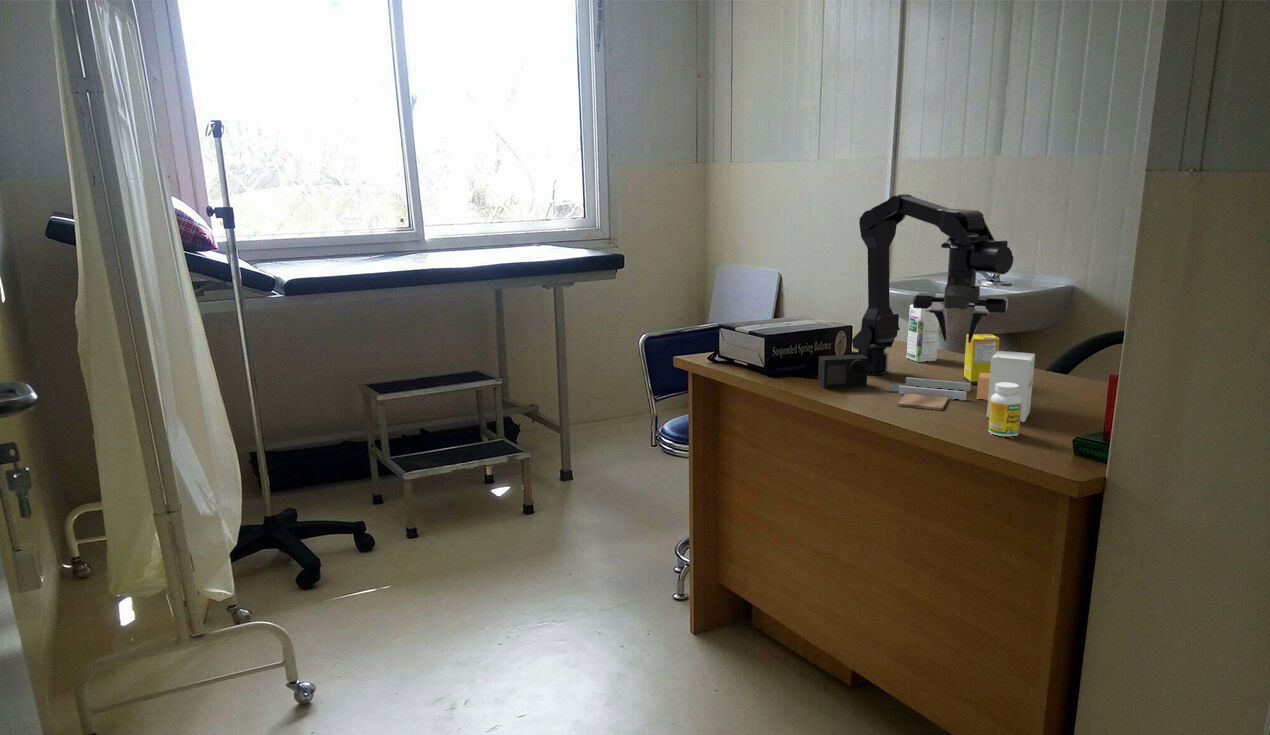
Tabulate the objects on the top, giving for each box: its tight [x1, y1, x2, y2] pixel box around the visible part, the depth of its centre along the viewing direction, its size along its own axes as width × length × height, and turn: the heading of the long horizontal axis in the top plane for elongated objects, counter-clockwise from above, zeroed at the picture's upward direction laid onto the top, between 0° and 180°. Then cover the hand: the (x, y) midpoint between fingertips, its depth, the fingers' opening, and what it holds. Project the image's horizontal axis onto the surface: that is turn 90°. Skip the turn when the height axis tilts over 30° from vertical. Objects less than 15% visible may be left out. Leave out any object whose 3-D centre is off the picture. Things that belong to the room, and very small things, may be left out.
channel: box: [898, 376, 972, 401], centre depth 185 cm, size 14×9×2 cm, turn 62°
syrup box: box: [906, 304, 940, 363], centre depth 216 cm, size 6×6×14 cm
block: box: [976, 372, 990, 401], centre depth 180 cm, size 5×5×5 cm
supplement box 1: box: [963, 333, 1000, 385], centre depth 192 cm, size 6×6×11 cm
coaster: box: [897, 393, 949, 411], centre depth 177 cm, size 9×9×1 cm
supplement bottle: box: [988, 382, 1022, 437], centre depth 154 cm, size 5×5×10 cm
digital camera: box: [817, 354, 868, 390], centre depth 192 cm, size 10×5×7 cm, turn 96°
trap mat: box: [885, 382, 915, 394], centre depth 189 cm, size 5×7×1 cm
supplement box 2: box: [986, 350, 1036, 423], centre depth 165 cm, size 7×7×13 cm
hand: (957, 341), depth 181 cm, fingers open, 5 cm apart
